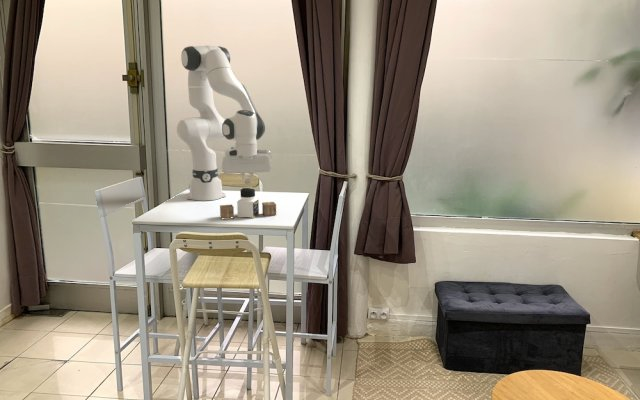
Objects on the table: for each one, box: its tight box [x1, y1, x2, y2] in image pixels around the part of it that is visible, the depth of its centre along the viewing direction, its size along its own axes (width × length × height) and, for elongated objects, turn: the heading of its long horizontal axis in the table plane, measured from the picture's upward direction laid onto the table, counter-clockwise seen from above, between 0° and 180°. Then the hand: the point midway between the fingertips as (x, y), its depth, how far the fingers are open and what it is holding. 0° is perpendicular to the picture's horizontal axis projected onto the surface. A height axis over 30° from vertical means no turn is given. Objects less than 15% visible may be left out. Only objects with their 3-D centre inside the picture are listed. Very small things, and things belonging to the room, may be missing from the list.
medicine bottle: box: [236, 187, 260, 219], centre depth 227 cm, size 7×7×12 cm
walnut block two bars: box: [261, 201, 277, 217], centre depth 230 cm, size 5×5×5 cm
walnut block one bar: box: [219, 204, 235, 219], centre depth 225 cm, size 5×5×5 cm
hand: (247, 183), depth 225 cm, fingers closed
